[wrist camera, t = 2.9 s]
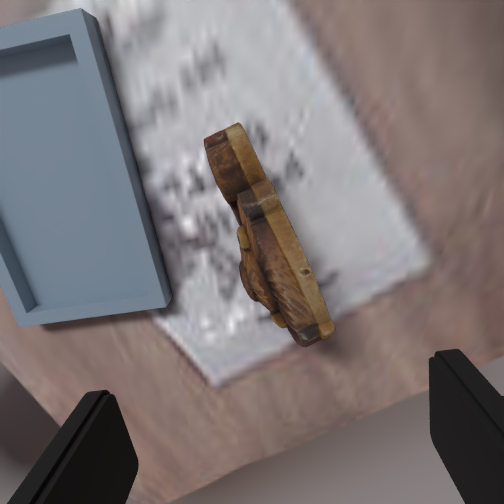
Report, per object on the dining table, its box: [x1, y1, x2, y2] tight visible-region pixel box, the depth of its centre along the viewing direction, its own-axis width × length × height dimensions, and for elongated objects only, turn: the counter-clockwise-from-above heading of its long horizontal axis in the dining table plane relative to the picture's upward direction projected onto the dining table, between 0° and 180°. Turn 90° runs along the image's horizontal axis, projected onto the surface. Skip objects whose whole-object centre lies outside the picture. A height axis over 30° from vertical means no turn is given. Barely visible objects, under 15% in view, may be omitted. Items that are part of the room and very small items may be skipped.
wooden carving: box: [204, 122, 335, 347], centre depth 23 cm, size 16×5×10 cm, turn 29°
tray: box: [0, 8, 173, 327], centre depth 27 cm, size 13×21×2 cm, turn 10°
